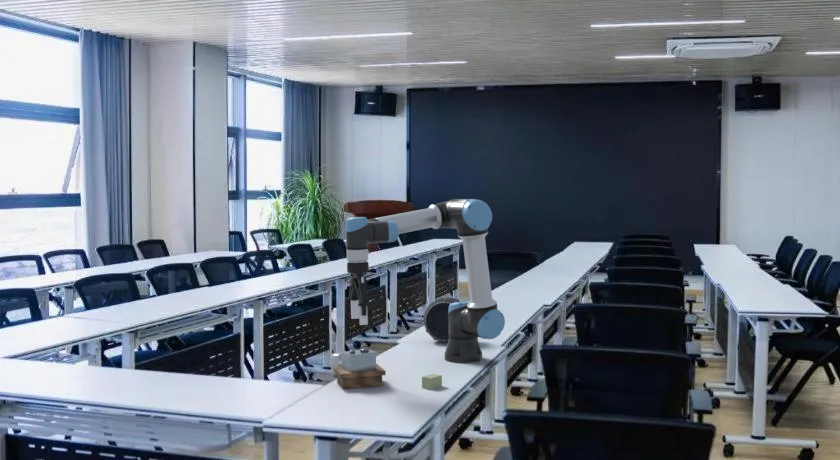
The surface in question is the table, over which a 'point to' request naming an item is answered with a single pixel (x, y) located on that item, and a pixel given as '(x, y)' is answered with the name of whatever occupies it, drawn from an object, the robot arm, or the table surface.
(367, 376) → the walnut stand
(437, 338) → the dark grey drum
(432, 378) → the olive painted block
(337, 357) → the grey metal can
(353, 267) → the robot arm
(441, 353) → the table surface
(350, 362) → the housing
